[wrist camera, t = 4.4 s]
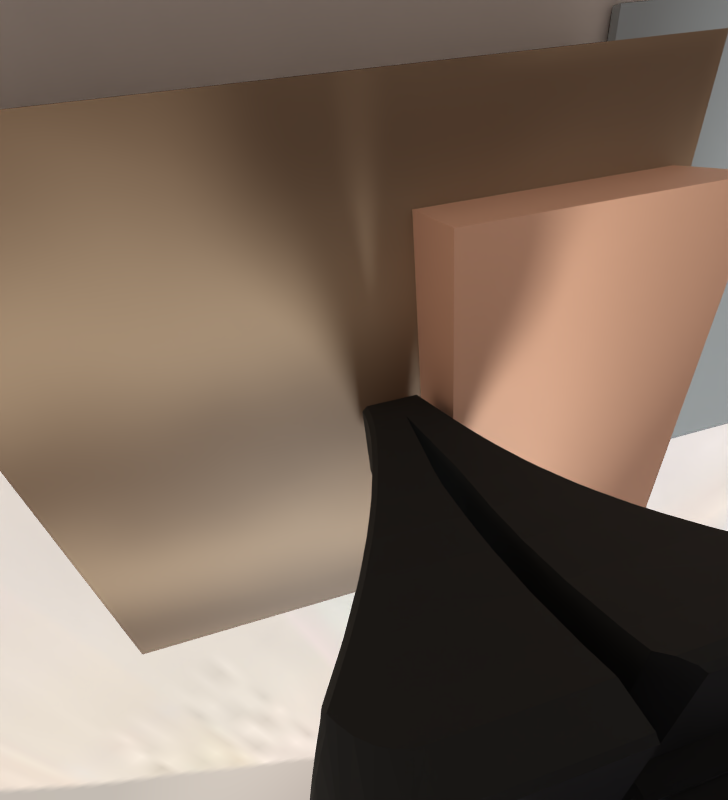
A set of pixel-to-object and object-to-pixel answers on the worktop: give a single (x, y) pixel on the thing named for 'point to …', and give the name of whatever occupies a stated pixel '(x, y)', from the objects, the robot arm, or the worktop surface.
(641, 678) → the robot arm
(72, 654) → the worktop surface
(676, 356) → the peach upright slab
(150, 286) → the brown flat block
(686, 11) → the mat
